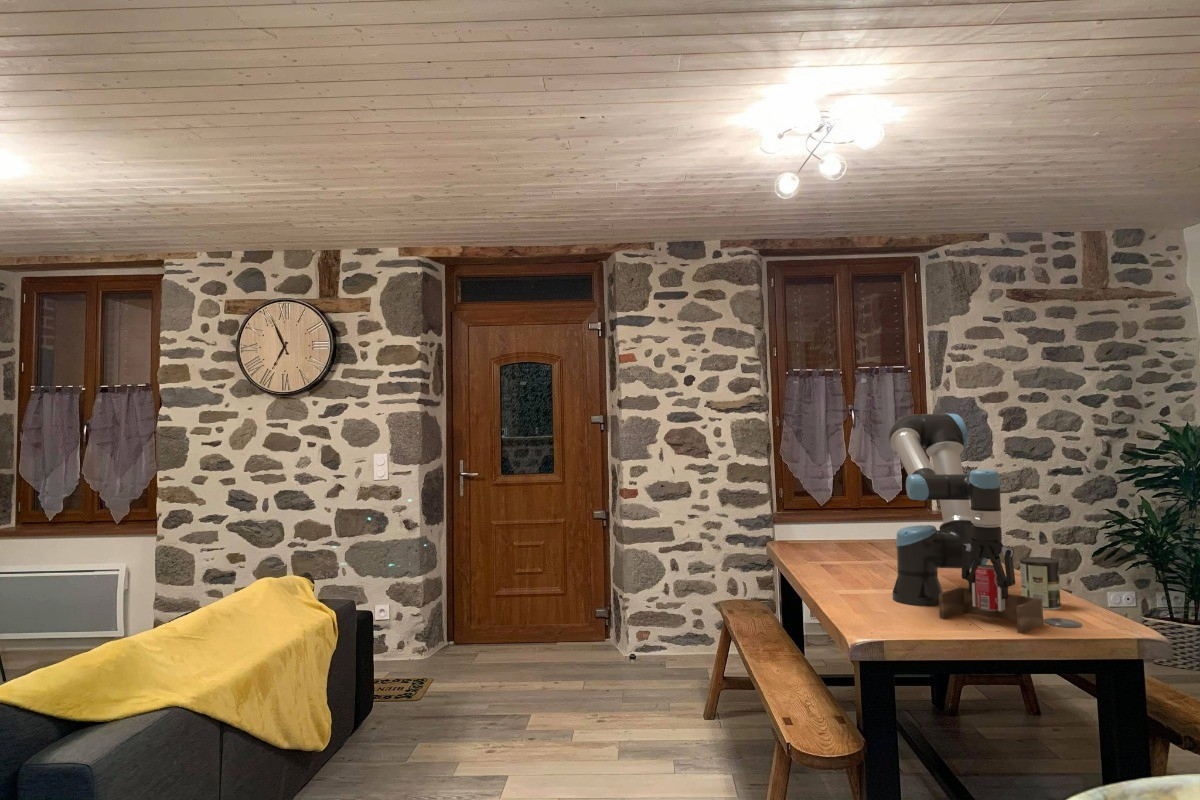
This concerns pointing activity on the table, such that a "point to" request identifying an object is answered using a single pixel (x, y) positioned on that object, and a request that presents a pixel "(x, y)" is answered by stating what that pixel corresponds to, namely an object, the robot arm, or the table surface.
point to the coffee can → (1041, 580)
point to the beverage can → (986, 588)
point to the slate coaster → (1062, 623)
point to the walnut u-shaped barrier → (1016, 609)
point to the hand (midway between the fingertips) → (988, 607)
